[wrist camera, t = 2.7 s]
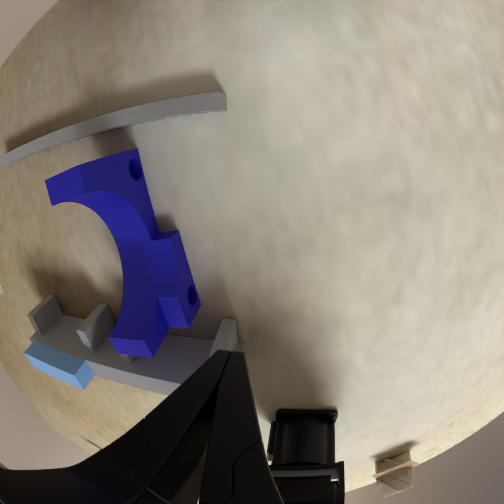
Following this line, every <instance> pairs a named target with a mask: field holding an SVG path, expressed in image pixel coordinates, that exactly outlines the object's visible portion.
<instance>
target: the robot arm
mask: <svg viewBox="0 0 504 504" xmlns="http://www.w3.org/2000/svg"><path fill="white" fill-rule="evenodd" d="M337 417H338V412H337V411H335V410H328V411H308V410H277V411H276V421H273V422H272V423H271V428H270V435H269V442H268V449H267V457H266V454H265V449H264V445H263V441H262V436H261V431H260V427H259V422H258V417H257V412H256V407H255V402H254V397H253V393H252V387H251V382H250V377H249V372H248V367H247V362H246V356H245V353H244V352H243V351H232V352H231V351H230V350H223V349H218V350H217V351H216V352H215V353H214V354H213V355H211V356H210V357H209V358H208V359H207V360H206V361H205V362H204V363H203V364H202V365H201V366H200V367H199V368H198V369H197V370H196V371H195V372H194V373H193V374H192V375H190V376H189V377H188V378H187V379H186V380H185V381H184V382H183V383H182V384H181V385H180V386H179V387H178V388H176V389H175V390H174V391H173V392H172V393H171V394H170V395H169V396H168V397H167V398H166V399H164V400H163V401H162V402H161V403H160V404H159V405H158V406H157V407H156V408H154V409H153V410H152V411H151V412H150V413H149V414H148V415H147V416H145V418H143V419H142V420H141V421H140V422H138V423H137V424H136V425H135V426H134V427H133V428H131V429H130V430H129V431H128V432H126V433H125V434H124V435H122V436H121V437H120V438H118V439H117V440H115V441H114V442H112V443H111V444H109V445H108V446H106V447H105V448H103V449H102V450H100V451H98V452H97V453H95V454H94V455H92V456H90V457H89V458H87V459H85V460H84V461H82V462H80V463H78V464H76V465H73V466H70V467H65V468H57V469H44V470H43V469H42V470H9V469H8V468H6V467H5V466H4V465H2V464H1V463H0V504H197V502H198V499H199V504H344V498H345V483H344V461H340V462H338V463H335V422H336V419H337ZM267 459H268V461H272V463H271V465H268V461H267ZM331 479H337V481H331ZM199 496H200V497H199Z"/></svg>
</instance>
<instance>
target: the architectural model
mask: <svg viewBox="0 0 504 504" xmlns="http://www.w3.org/2000/svg"><path fill="white" fill-rule="evenodd" d="M385 460H386V461H385ZM416 465H418V463H417V462H413V461H411V458H410V452H407V453H405V454H402V455H400V456H398V457H395V458H393V459H387V458H386V459H384V462H383V463H378V462H375V471H376V474H375V475H372V476H373V477H374V478H376V480H377V486H378V482H380V483H381V484H382V492H383V497H386V496H389V495H393V494H396V493H399V492H402V491H404V490H407V489H410V488H413V487H414V481H413V473H412V467H414V466H416Z"/></svg>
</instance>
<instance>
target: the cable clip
mask: <svg viewBox="0 0 504 504" xmlns="http://www.w3.org/2000/svg"><path fill="white" fill-rule="evenodd" d="M45 183H46V187H47V190H48V194H49V197H50V201H51V204H52V206H53V205H56V204H59V203H62V202H76V203H80V204H83V205H85V206H87V207H89V208H91V209H92V210H93V211H95V212H96V213H97V214H98V215H99V216H100V217H101V218H102V219H103V221H104V222H105V223H106V225H107V226H108V228H109V229H110V231H111V233H112V235H113V237H114V240H115V242H116V245H117V247H118V251H119V254H120V258H121V263H122V270H123V299H122V305H121V310H120V314H119V317H118V320H117V323H116V325H115V327H114V329H113V331H112V333H111V334H110V336H109V339H110V341H111V343H112V344H113V346H114V348H115V350H116V351H117V353H118V354H124V355H132V356H140V357H149V358H154V356H155V354H156V352H157V350H158V349H159V347H160V345H161V343H162V341H163V340H164V338H165V336H166V334H167V332H168V331H169V329H170V328H189V327H190V325H191V323H192V321H193V319H194V317H195V315H196V313H197V311H198V309H199V307H200V305H201V303H200V300H199V297H198V294H197V290H196V287H195V284H194V281H193V278H192V274H191V271H190V268H189V264H188V261H187V258H186V254H185V251H184V247H183V244H182V240H181V237H180V233H179V230H178V231H171V232H164V233H160V232H159V229H158V226H157V222H156V219H155V215H154V212H153V208H152V204H151V201H150V197H149V193H148V189H147V185H146V181H145V177H144V173H143V169H142V165H141V161H140V156H139V152H138V148H137V149H133V150H129V151H125V152H121V153H118V154H114V155H110V156H107V157H103V158H100V159H97V160H93V161H90V162H87V163H84V164H81V165H78V166H75V167H73V168H71V169H69V170H66V171H64V172H62V173H60V174H58V175H55V176H53V177H51V178H49V179H47V180H45Z"/></svg>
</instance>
